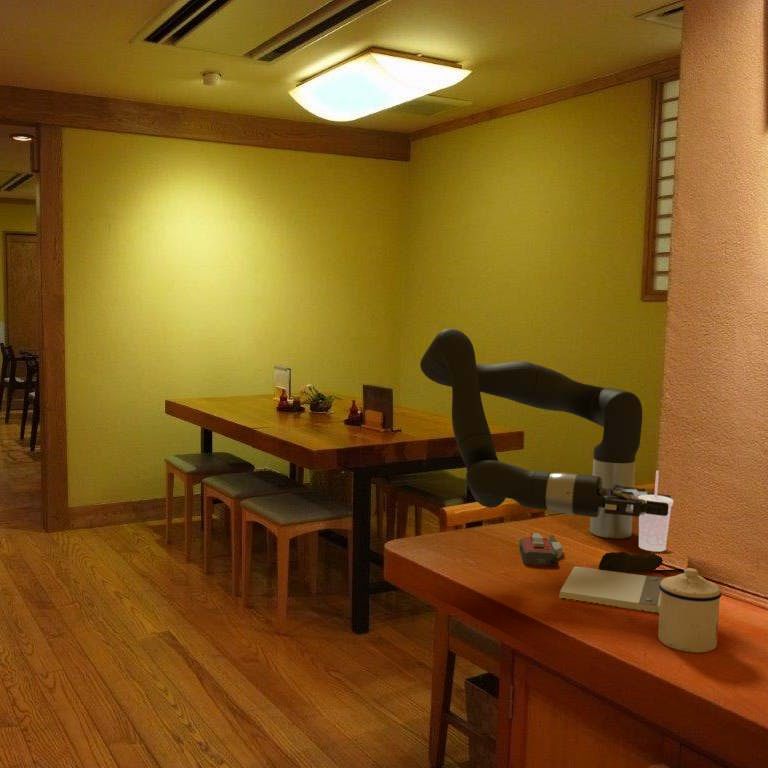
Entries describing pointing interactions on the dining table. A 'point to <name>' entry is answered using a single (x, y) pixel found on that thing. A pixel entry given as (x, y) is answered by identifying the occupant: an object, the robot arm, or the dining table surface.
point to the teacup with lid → (689, 612)
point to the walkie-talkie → (540, 550)
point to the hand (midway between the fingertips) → (669, 505)
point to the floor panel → (613, 588)
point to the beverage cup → (654, 524)
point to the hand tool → (629, 562)
